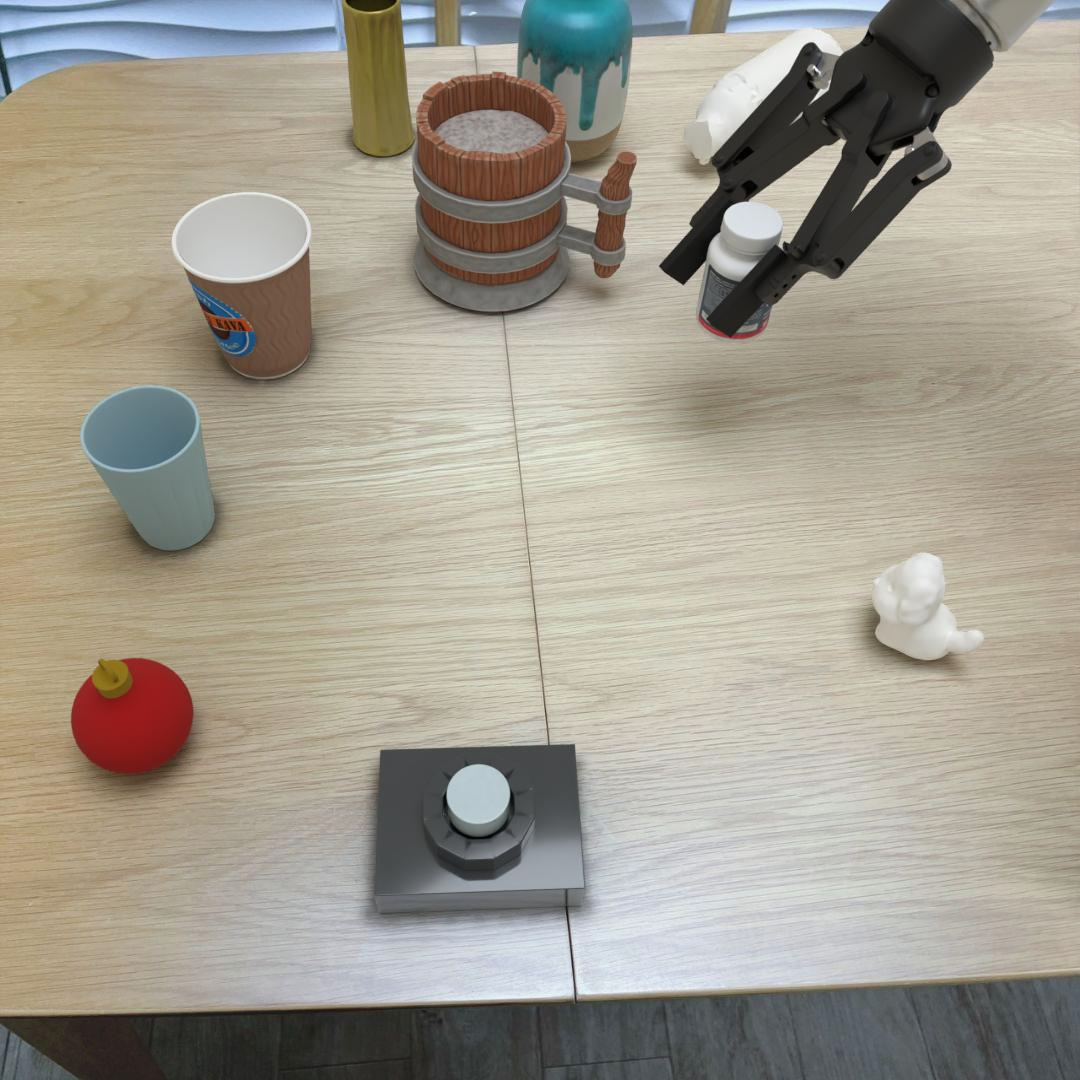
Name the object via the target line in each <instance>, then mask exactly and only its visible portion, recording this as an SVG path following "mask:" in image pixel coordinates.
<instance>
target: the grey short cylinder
mask: <svg viewBox="0 0 1080 1080" xmlns="http://www.w3.org/2000/svg"><path fill="white" fill-rule="evenodd" d="M447 806H448V814H449V818H450V820H451V822H452V824H453V825H454V826H455V827H456V828H457V829H458V830H459V831H460V832H462V833H464V834H466V835H469V836H473V837H483V836H488V835H490V834H493V833H494V832H496V831H497V830H499V829H500V828H501V827H502V826H503V825H504V823H505V822H506V820H507V818H508V815H509V810H510V788H509V785H508V782H507V780H506V778H505V777H504V776H503V775H502V774H501V773H500V772H499V771H498V770H497V769H495V768H493V767H491V766H487V765H482V764H476V765H470V766H467V767H465V768H463V769H461V770H460V771H458V772H457V773H456V774H455V775H454V776H453V777H452V779H451V780H450V782H449V785H448V788H447Z"/></svg>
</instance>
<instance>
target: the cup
mask: <svg viewBox="0 0 1080 1080" xmlns="http://www.w3.org/2000/svg"><path fill="white" fill-rule="evenodd" d="M199 413H200V412H199V409H198V407H197V406H196V404H195V403H194V402H193V400H192V399H191V398H190V397H189V396H188V395H186V394H185V393H183V392H181V391H179V390H177V389H175V388H172V387H168V386H165V385H155V384H143V385H137V386H132V387H127V388H125V389H121V390H119V391H116V392H114V393H112V394H109V395H108V396H107V397H105V398H103V399H102V400H101V401H99V402H98V403H97V404H95V405H94V406H93V407H92V409H90V411H89V412H88V414H87V415H86V416H85V418H84V420H83V421H82V424H81V427H80V432H79V443H80V446H81V448H82V449H81V450H82V451H83V453H84V455H85V456H86V457H87V459H88V460H89V462H90V463H91V465H92V466H93V468H94V470H95V471H96V473H97V474H98V475H99V476H100V478H101V479H102V481H103V482H104V484H105V485H106V487H107V488H108V490H109V491H110V493H111V494H112V496H113V497H114V499H115V500H116V502H117V503H118V505H119V506H120V508H121V509H122V511H123V512H124V514H125V515H126V517H127V518H128V520H129V521H130V523H131V524H132V526H133V527H134V528H135V530H136V531H137V533H138V535H139V536H140V537H141V538H142V540H143V541H145V542H146V543H147V544H148V545H149V546H151V547H152V548H155V549H158V550H162V551H168V552H170V551H181V550H185V549H187V548H190V547H192V546H194V545H196V544H198V543H200V542H201V541H202V540H203V539H204V538H205V537H206V536H207V535H208V534H209V533H210V532H211V530H212V528H213V526H214V522H215V518H216V513H215V507H214V501H213V500H214V499H213V493H212V486H211V482H210V476H209V475H210V474H209V468H208V463H207V462H208V461H207V456H206V451H205V445H204V435H203V430H202V423H201V416H200V414H199Z"/></svg>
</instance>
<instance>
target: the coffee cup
mask: <svg viewBox="0 0 1080 1080" xmlns="http://www.w3.org/2000/svg"><path fill="white" fill-rule="evenodd" d="M171 235H172V236H171V250H172V251H171V252H172V254H173V256H174V258H175V259H176V261H177V262H178V263H179V264H180V265H181V266H182V267H183V270H184V272H185V274H186V276H187V279H188V282H189V284H190V285H191V288H192V290H193V292H194V293H193V294H194V295H195V297H196V299H197V301H198V303H199V306H200V308H201V310H202V313H203V315H204V318H205V320H206V322H207V324H208V327H209V328H210V330H211V333H212V335H213V338H214V339H215V341H216V343H217V344H218V347H219V349H220V352H221V354H222V355H223V357H224V358H225V359H226V361H227V363H228V364H229V366H230V367H231V368H232V369H233V371H235V372H237V373H238V374H240V375H241V376H244V377H245V378H249V379H253V380H272V379H273V380H274V379H279V378H282V377H284V376H288V375H289V374H291V373H293V372H295V371H296V370H298V369H299V368H300V367H301V366H302V365H303V364H305V363H306V360H307V359H308V357H309V355H310V352H311V344H312V343H311V341H312V340H313V339H312V338H313V337H312V336H313V335H312V333H313V332H312V302H311V300H312V299H311V298H312V297H311V265H310V263H311V261H310V259H311V258H310V244H311V242H312V238H313V237H312V236H313V228H312V224H311V222H310V219H309V217H308V215H307V214H306V213H305V212H304V211H303V210H302V208H300V207H299V206H298V204H295V203H294V202H292V201H290V200H288V199H287V198H285V197H282V196H279V195H276V194H271V193H267V192H260V191H259V192H258V191H242V192H233V193H226V194H222V195H219V196H216V197H213V198H210V199H207V200H205V201H203V202H201V203H199V204H197V205H196V206H194V207H193V208H191V209H190V210H188V211H187V212H186V213H185V214H184V215H183V216H182V217H181V218H180V219H179V220H178V222H177V223H176V225H175V227H174V228H173V232H172V234H171Z"/></svg>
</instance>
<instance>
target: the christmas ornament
mask: <svg viewBox="0 0 1080 1080" xmlns="http://www.w3.org/2000/svg"><path fill="white" fill-rule="evenodd" d="M97 664H98V665H97V666H96V667H95V669H94V670H93V672H92V674H91V675H90V676H88V677H87V678H86V680H85V681H84V682H83V683H82V685H81V686H80V688H79V690H78V691H77V692H76V695H75V697H74V700H73V703H72V706H71V713H70V726H71V727H70V728H71V733H72V735H73V739H74V741H75V742H76V746H77V747H78V749H79V750H80V751H81V753H82V754H83V756H85V757H86V758H87V759H88V760H89V761H90V762H92V763H93V764H94V765H96V766H97V767H99V768H101V769H103V770H105V771H108V772H111V773H115V774H119V775H136V774H143V773H146V772H150V771H153V770H155V769H157V768H160V767H161V766H163V765H165V764H166V763H168V762H169V761H170V760H172V759H173V758H174V757H175V756H176V755H177V754H178V753H179V752H180V750H181V749H182V748H183V746H184V745H185V744H186V742H187V740H188V738H189V736H190V733H191V731H192V726H193V722H194V704H193V699H192V695H191V693H190V691H189V689H188V687H187V684H186V683H185V682H184V681H183V679H182V677H180V675H179V674H178V673H177V672H175V671H174V670H173V669H172V668H170V667H169V666H167V665H165V664H164V663H161V662H158V661H156V660H153V659H149V658H143V657H129V658H121V659H109V660H108V659H107V660H105V658H100V659H98V660H97Z"/></svg>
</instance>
